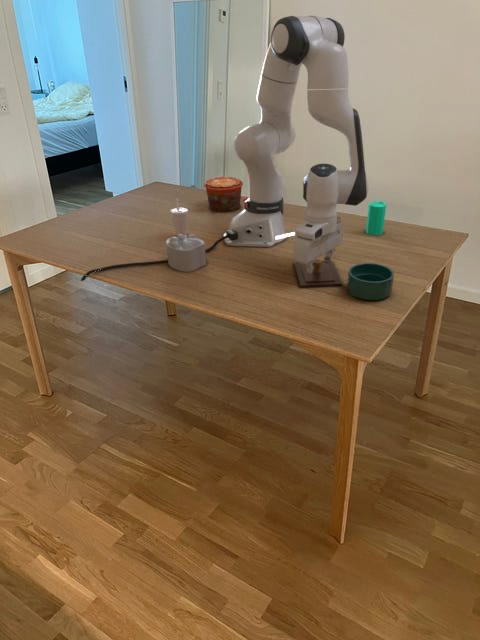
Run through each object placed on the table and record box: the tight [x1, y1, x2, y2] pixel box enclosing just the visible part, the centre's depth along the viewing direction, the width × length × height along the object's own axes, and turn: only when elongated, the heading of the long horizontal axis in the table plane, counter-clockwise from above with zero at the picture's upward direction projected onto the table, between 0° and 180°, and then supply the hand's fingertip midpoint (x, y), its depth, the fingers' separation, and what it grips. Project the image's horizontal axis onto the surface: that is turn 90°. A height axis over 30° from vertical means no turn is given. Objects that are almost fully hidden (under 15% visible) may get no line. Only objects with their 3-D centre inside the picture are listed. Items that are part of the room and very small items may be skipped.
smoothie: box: [169, 198, 189, 236], centre depth 178 cm, size 6×6×14 cm
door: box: [293, 259, 343, 289], centre depth 149 cm, size 12×16×4 cm
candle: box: [365, 200, 387, 236], centre depth 175 cm, size 6×6×12 cm
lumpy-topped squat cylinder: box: [165, 233, 207, 273], centre depth 159 cm, size 10×13×9 cm
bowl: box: [346, 262, 395, 301], centre depth 139 cm, size 12×12×6 cm
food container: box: [203, 176, 244, 213], centre depth 204 cm, size 16×16×11 cm
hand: (319, 267), depth 149 cm, fingers open, 8 cm apart
